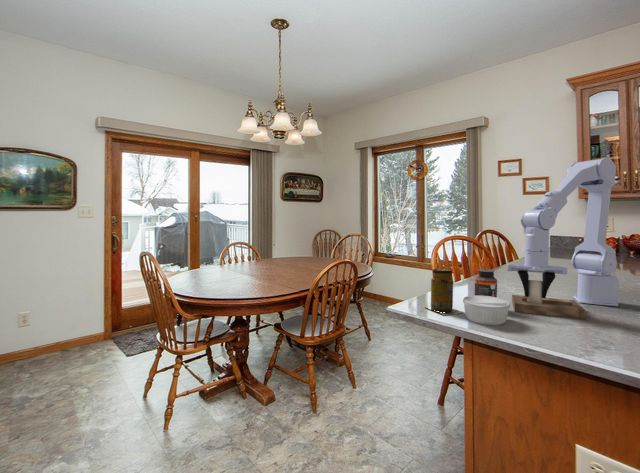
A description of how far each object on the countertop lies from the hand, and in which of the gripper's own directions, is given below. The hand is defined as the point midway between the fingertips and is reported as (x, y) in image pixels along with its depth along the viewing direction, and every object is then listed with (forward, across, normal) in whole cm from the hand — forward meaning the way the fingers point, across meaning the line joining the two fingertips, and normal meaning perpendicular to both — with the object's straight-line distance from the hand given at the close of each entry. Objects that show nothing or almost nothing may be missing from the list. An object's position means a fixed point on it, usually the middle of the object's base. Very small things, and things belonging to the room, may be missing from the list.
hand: (534, 296), depth 95 cm
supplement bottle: (+4, -13, -4) cm, 14 cm away
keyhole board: (+4, +3, 0) cm, 4 cm away
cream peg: (+3, 0, 0) cm, 3 cm away
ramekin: (+4, -13, -16) cm, 21 cm away
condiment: (+4, -24, -12) cm, 27 cm away
